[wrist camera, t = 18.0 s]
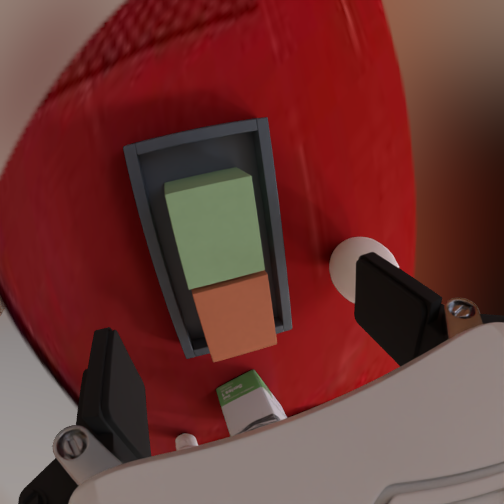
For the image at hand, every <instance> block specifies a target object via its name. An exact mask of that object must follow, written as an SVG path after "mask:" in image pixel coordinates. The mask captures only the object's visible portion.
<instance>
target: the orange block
mask: <svg viewBox="0 0 504 504" xmlns="http://www.w3.org/2000/svg"><path fill="white" fill-rule="evenodd" d="M191 291H192V295H193V299H194V302H195V306H196V309H197V312H198V316H199V319H200V322H201V326H202V329H203V332H204V335H205V339H206V342H207V345H208V348H209V351H210V354H211V357H212V360H213V362H216V361H220V360H224V359H227V358H231V357H235V356H238V355H242V354H245V353H249V352H252V351H255V350H259V349H262V348H265V347H268V346H272V345H275V344H277V339H276V331H275V324H274V317H273V309H272V302H271V295H270V288H269V281H268V274H267V273H266V272H265V270H263V271H260V272H256V273H252V274H248V275H244V276H241V277H237V278H233V279H229V280H225V281H221V282H217V283H214V284H210V285H206V286H202V287H198V288H194V289H191Z"/></svg>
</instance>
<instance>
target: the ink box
mask: <svg viewBox="0 0 504 504" xmlns="http://www.w3.org/2000/svg"><path fill="white" fill-rule="evenodd" d="M216 392H217V395H218V398H219V401H220V405H221V408H222V411H223V414H224V418H225V421H226V424H227V427H228V430H229V433H230V436H235V435H238V434H241V433H245V432H248V431H251V430H254V429H257V428H260V427H263V426H266V425H269V424H272V423H275V422H278V421H280V420H283V419H286V418H287V417H286V415H285V413H284V411H283V408H282V406H281V405H280V403H279V402H278V401H277V400H276V398H275V397H274V396H273V394H272V393H271V392H270V390H269V389H268V388H267V386H266V385H265V384H264V382H263V381H262V379H261V378H260V377H259V375H258V374H257V373H256V371H255V370H251V371H249V372H247V373H245V374H243V375H241V376H239V377H237V378H235V379H233V380H231V381H229V382H227V383H226V384H224V385H222V386H220V387H218V388H217V389H216Z"/></svg>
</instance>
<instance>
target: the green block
mask: <svg viewBox="0 0 504 504" xmlns="http://www.w3.org/2000/svg"><path fill="white" fill-rule="evenodd" d="M164 190H165V199H166V203H167V208H168V212H169V216H170V220H171V225H172V229H173V233H174V237H175V241H176V245H177V248H178V252H179V256H180V260H181V264H182V267H183V271H184V275H185V278H186V282H187V286H188V289H189V290H190V289H194V288H198V287H202V286H206V285H210V284H214V283H217V282H221V281H225V280H229V279H233V278H237V277H241V276H244V275H248V274H252V273H256V272H260V271H263V270H265V267H264V259H263V252H262V245H261V238H260V231H259V224H258V217H257V210H256V203H255V197H254V190H253V183H252V176H251V175H249V174H247V173H246V172H244V171H242V170H240V169H239V168H237V167H234V168H229V169H224V170H219V171H214V172H210V173H205V174H200V175H196V176H191V177H187V178H182V179H178V180H174V181H170V182H166V183H164Z"/></svg>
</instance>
